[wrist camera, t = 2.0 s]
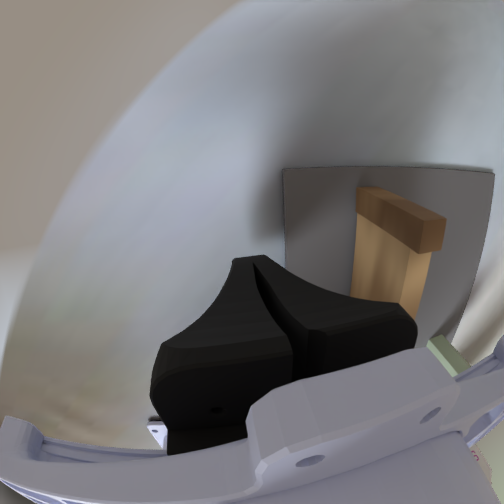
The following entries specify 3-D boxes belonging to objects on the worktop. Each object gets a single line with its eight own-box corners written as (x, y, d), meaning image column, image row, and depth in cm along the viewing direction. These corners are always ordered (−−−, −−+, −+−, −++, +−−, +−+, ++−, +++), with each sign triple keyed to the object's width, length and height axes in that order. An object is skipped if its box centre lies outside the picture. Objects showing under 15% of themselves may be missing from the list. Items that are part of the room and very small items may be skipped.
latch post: (435, 347, 20) (472, 392, 14) (418, 354, 20) (454, 403, 14) (443, 328, 19) (484, 373, 14) (425, 335, 19) (467, 385, 13)
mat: (446, 346, 20) (448, 348, 20) (285, 398, 19) (285, 401, 19) (492, 173, 14) (494, 174, 13) (282, 169, 12) (284, 170, 12)
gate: (357, 339, 16) (393, 395, 12) (340, 343, 16) (374, 402, 12) (377, 186, 12) (446, 218, 8) (356, 187, 12) (424, 221, 8)
